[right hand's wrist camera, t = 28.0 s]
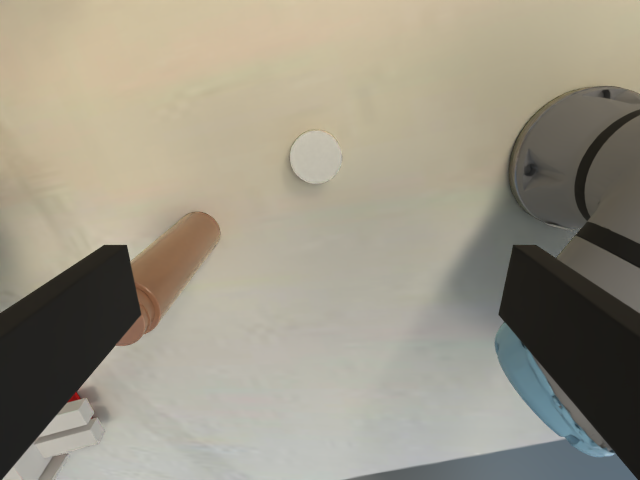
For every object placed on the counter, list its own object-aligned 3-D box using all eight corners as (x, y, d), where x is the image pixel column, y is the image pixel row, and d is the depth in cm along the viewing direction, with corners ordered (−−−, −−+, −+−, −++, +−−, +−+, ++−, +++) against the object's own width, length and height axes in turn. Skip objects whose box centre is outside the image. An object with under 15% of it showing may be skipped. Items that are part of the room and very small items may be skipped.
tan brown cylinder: (225, 220, 43) (157, 305, 25) (213, 256, 45) (141, 359, 27) (184, 205, 42) (84, 281, 24) (174, 241, 44) (73, 337, 26)
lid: (284, 170, 41) (283, 173, 39) (300, 121, 39) (299, 122, 37) (330, 186, 42) (331, 190, 40) (348, 139, 40) (349, 141, 38)
